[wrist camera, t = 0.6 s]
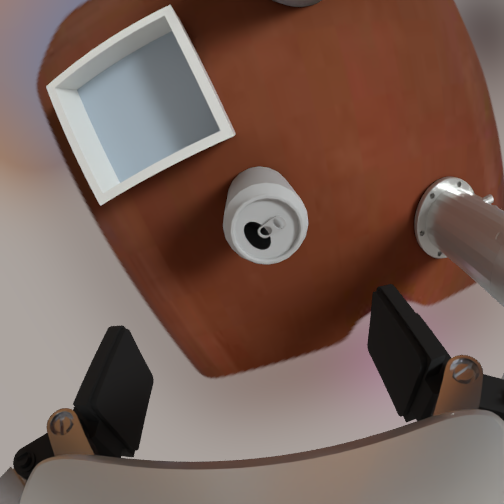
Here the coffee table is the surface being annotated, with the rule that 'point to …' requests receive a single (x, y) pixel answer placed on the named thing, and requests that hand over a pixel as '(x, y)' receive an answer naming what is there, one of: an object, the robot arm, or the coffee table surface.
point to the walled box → (138, 105)
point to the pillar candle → (298, 2)
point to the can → (264, 216)
